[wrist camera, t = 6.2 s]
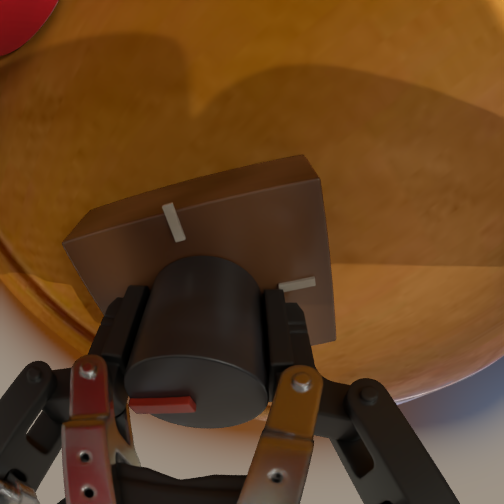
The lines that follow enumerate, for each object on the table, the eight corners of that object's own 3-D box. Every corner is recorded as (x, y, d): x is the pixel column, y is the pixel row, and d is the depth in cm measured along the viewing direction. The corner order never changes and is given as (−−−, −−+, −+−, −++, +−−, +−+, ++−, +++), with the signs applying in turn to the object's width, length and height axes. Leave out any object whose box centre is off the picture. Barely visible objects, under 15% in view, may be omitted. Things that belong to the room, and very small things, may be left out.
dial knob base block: (302, 146, 12) (320, 170, 9) (324, 303, 16) (337, 347, 14) (86, 204, 13) (55, 238, 10) (154, 332, 17) (144, 375, 15)
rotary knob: (247, 243, 11) (250, 355, 7) (271, 328, 13) (280, 429, 9) (134, 267, 11) (92, 370, 7) (176, 343, 14) (161, 437, 10)
